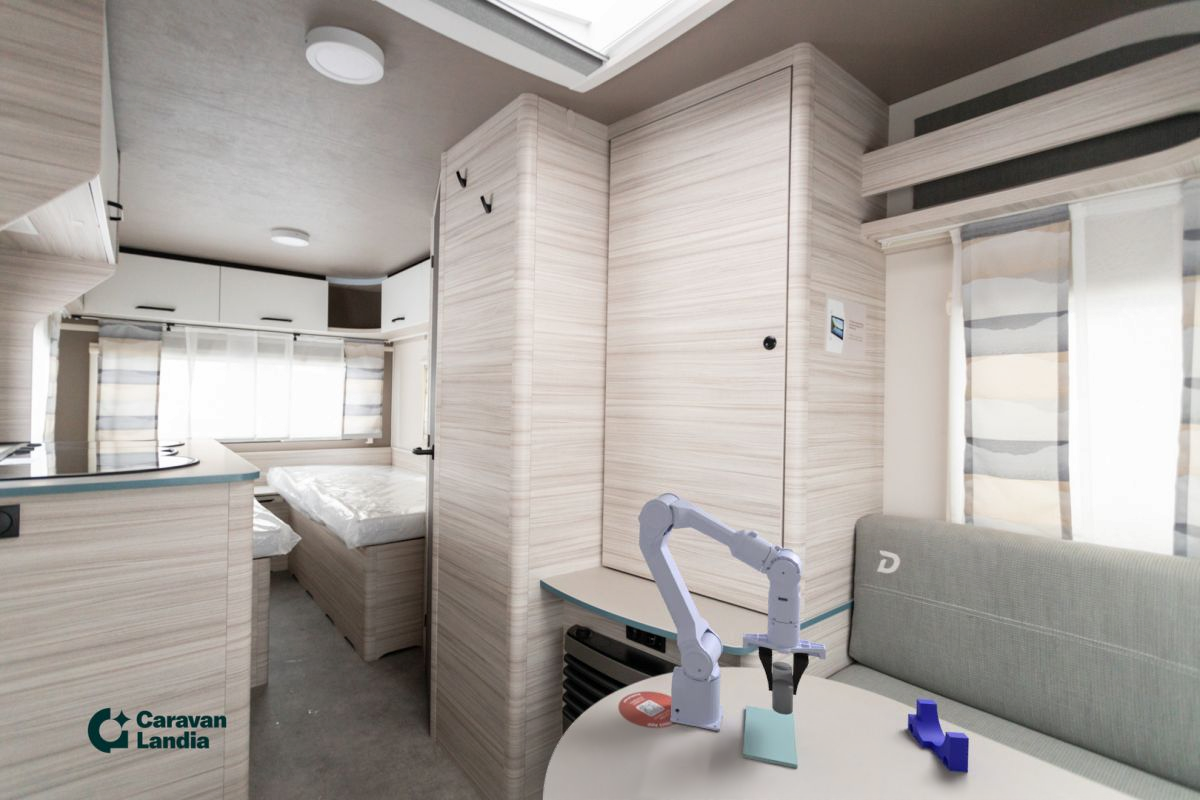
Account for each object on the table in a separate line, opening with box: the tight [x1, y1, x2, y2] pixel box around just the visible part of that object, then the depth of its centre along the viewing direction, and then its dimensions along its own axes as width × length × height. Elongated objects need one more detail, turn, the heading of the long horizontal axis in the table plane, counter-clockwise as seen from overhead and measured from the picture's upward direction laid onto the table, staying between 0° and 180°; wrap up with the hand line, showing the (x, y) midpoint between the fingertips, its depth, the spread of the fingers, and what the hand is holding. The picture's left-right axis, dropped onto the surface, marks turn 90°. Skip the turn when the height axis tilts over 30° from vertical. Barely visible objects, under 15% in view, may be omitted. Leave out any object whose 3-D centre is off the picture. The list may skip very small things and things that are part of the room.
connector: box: [771, 661, 794, 715], centre depth 104 cm, size 4×12×4 cm, turn 163°
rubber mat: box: [742, 705, 799, 769], centre depth 103 cm, size 9×16×1 cm, turn 163°
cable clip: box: [907, 698, 970, 773], centre depth 101 cm, size 12×4×6 cm, turn 175°
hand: (782, 690), depth 103 cm, fingers closed on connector, 3 cm apart
